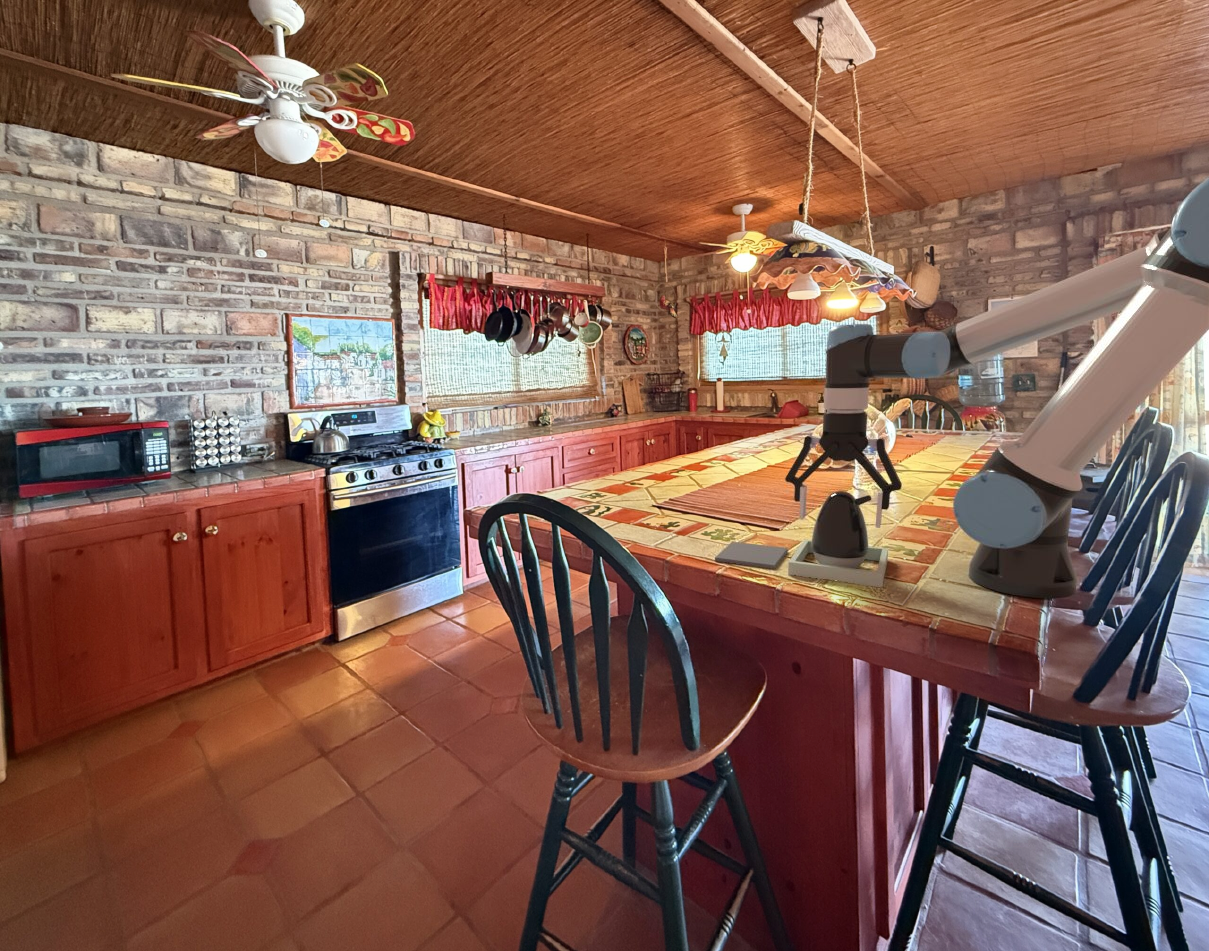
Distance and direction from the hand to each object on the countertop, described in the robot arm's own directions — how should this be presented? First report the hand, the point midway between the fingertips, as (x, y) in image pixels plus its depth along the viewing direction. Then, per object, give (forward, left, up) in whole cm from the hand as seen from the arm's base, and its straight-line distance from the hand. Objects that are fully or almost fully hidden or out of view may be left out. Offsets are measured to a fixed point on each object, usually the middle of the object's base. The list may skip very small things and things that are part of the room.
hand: (839, 522), depth 108 cm
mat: (+17, 0, -9) cm, 19 cm away
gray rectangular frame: (0, 0, -9) cm, 9 cm away
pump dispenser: (0, 0, -9) cm, 9 cm away
